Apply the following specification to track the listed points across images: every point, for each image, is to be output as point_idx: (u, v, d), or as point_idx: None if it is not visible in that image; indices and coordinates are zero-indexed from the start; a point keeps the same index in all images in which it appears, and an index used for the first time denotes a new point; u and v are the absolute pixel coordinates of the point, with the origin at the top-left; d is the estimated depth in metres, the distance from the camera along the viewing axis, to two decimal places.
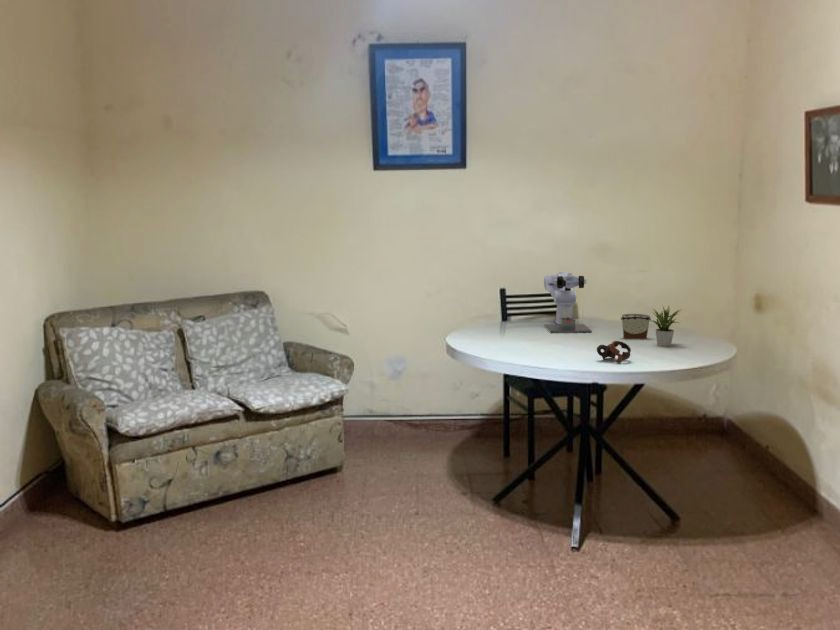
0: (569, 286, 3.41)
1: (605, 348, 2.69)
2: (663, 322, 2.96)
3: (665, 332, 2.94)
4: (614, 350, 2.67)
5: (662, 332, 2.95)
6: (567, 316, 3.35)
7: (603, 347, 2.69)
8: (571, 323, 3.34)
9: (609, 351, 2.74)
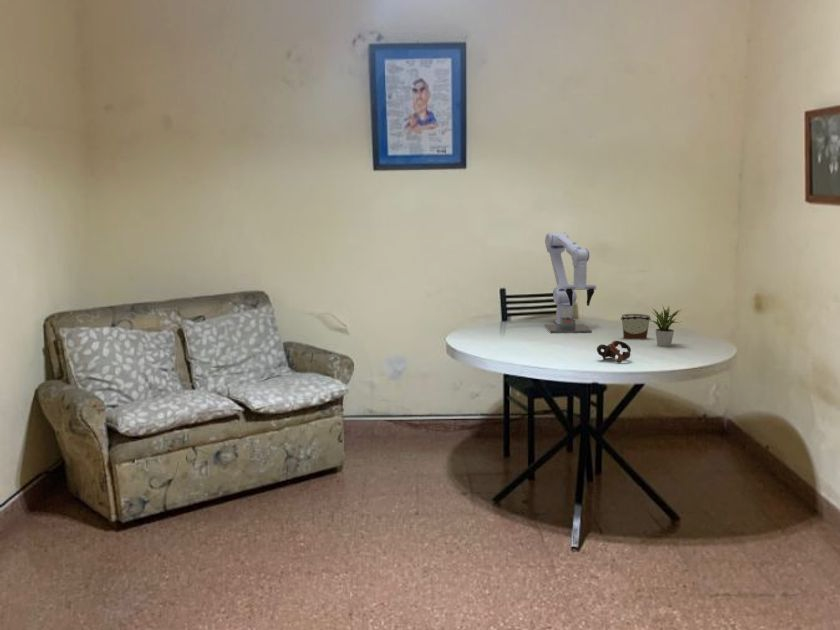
0: None
1: (605, 348, 2.69)
2: (663, 322, 2.96)
3: (665, 332, 2.94)
4: (614, 350, 2.67)
5: (662, 332, 2.95)
6: (567, 316, 3.35)
7: (603, 347, 2.69)
8: (571, 323, 3.34)
9: (609, 351, 2.75)
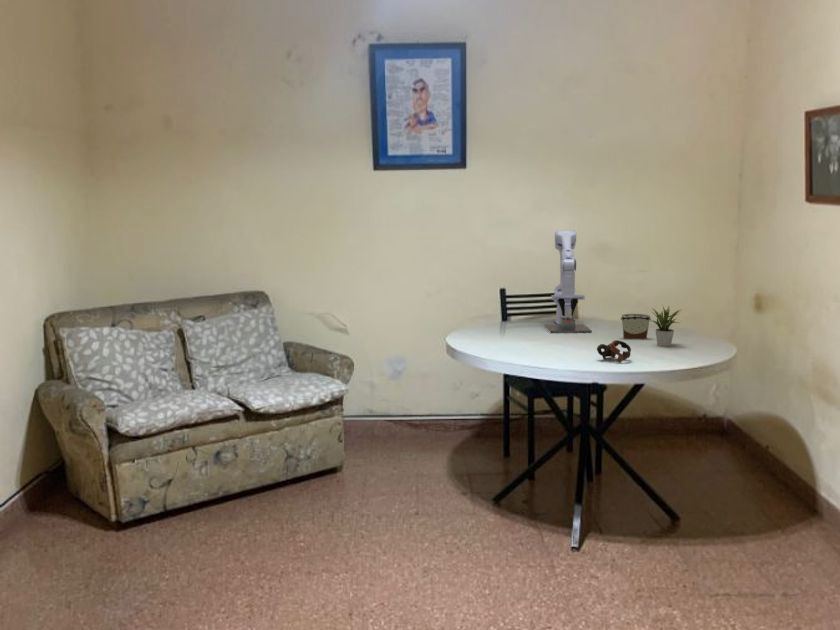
0: None
1: (605, 347, 2.70)
2: (663, 322, 2.96)
3: (665, 332, 2.94)
4: (614, 349, 2.67)
5: (662, 332, 2.95)
6: (567, 316, 3.35)
7: (603, 346, 2.70)
8: (571, 323, 3.34)
9: (609, 350, 2.75)
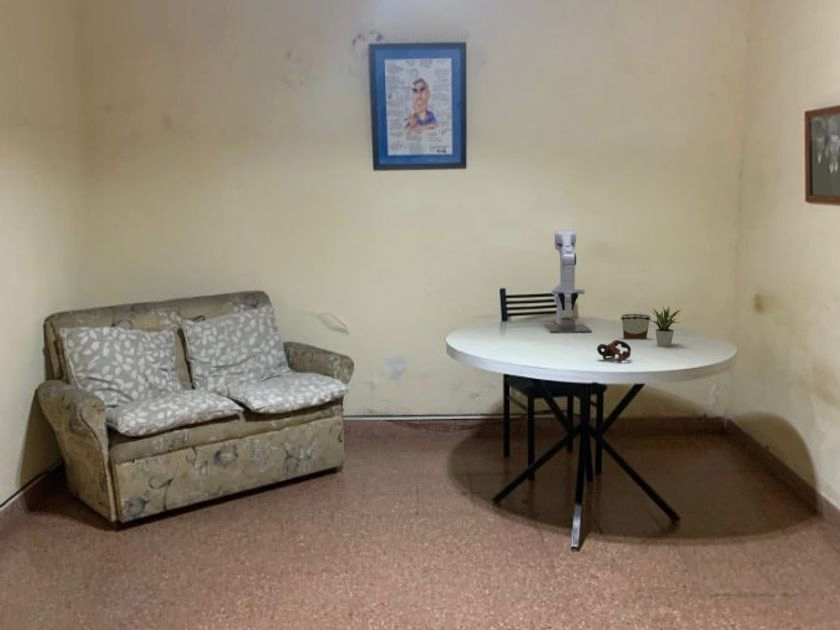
0: None
1: (605, 347, 2.70)
2: (663, 322, 2.96)
3: (665, 332, 2.94)
4: (614, 349, 2.68)
5: (662, 332, 2.95)
6: (567, 311, 3.34)
7: (603, 346, 2.70)
8: (571, 323, 3.34)
9: (609, 350, 2.75)
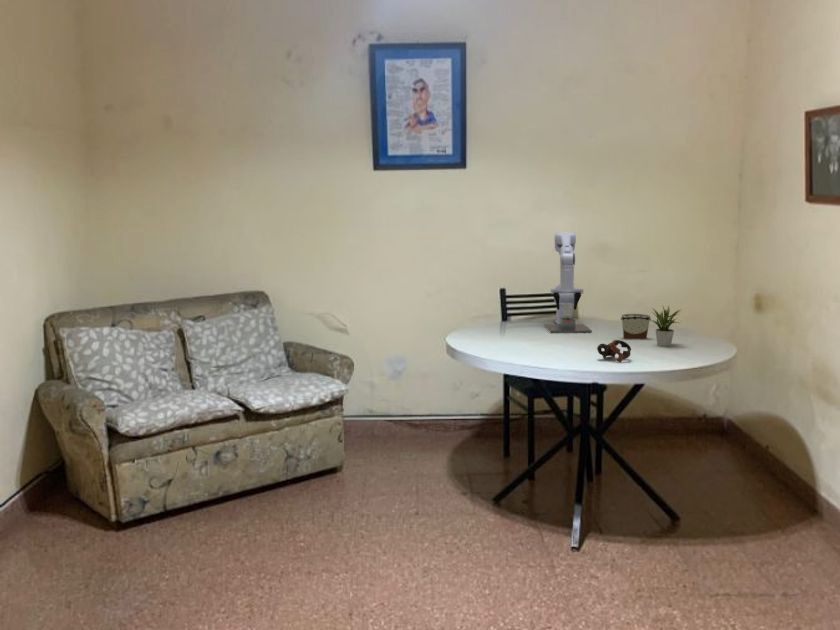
0: None
1: (606, 347, 2.71)
2: (663, 322, 2.96)
3: (665, 332, 2.94)
4: (615, 349, 2.68)
5: (662, 332, 2.95)
6: (567, 311, 3.34)
7: (604, 346, 2.71)
8: (571, 323, 3.34)
9: (609, 350, 2.76)
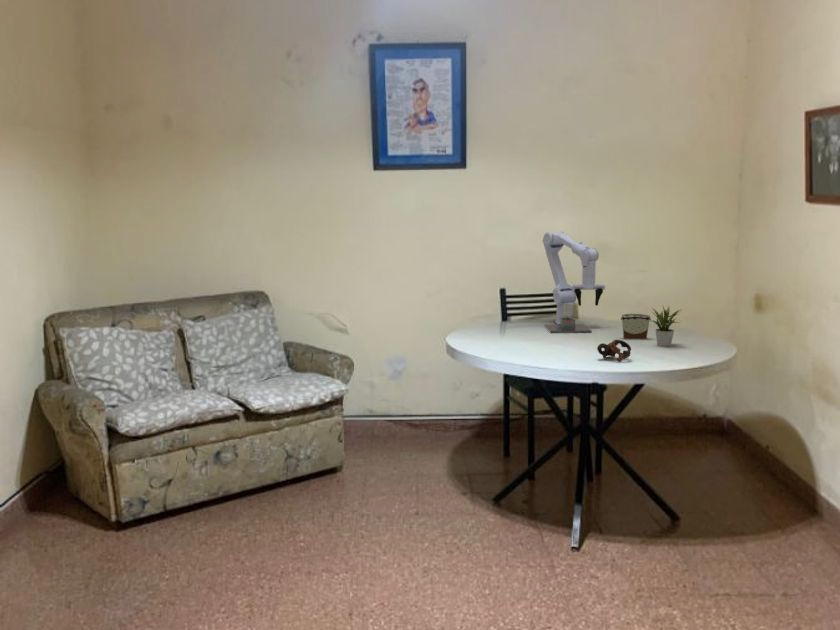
0: None
1: (606, 347, 2.71)
2: (663, 322, 2.96)
3: (665, 332, 2.94)
4: (615, 349, 2.69)
5: (662, 332, 2.95)
6: (567, 311, 3.34)
7: (604, 346, 2.71)
8: (571, 323, 3.34)
9: (609, 350, 2.76)
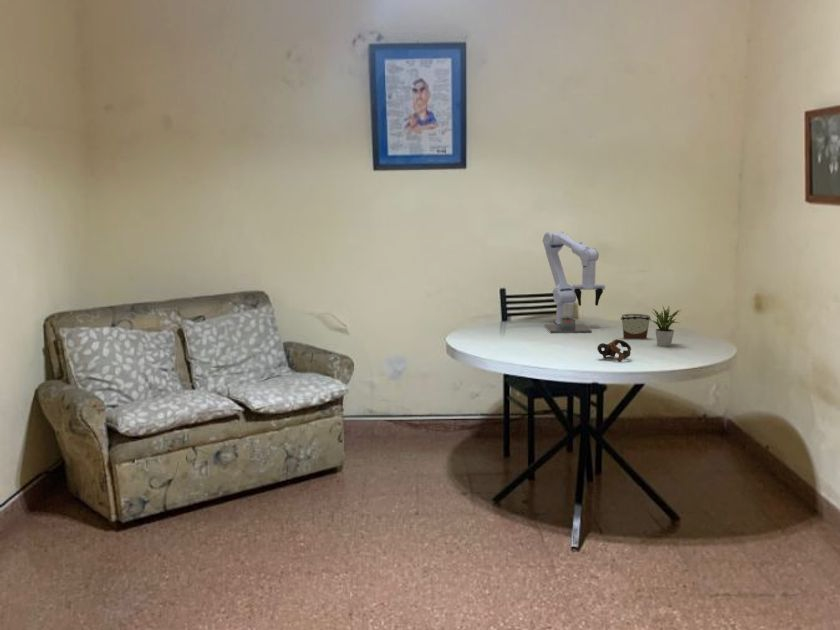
0: None
1: (606, 347, 2.71)
2: (663, 322, 2.96)
3: (665, 332, 2.94)
4: (615, 348, 2.69)
5: (662, 332, 2.95)
6: (567, 311, 3.34)
7: (604, 346, 2.71)
8: (571, 323, 3.34)
9: (609, 350, 2.77)
